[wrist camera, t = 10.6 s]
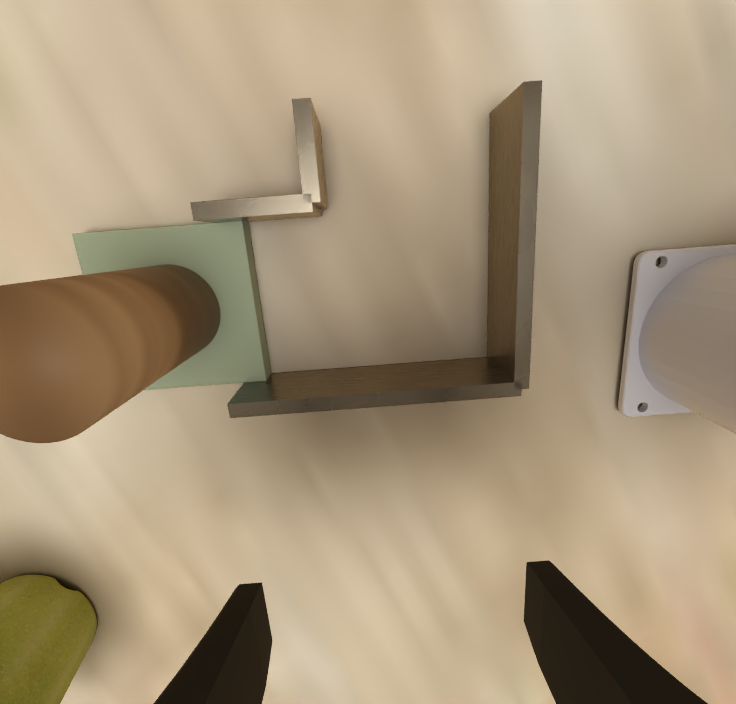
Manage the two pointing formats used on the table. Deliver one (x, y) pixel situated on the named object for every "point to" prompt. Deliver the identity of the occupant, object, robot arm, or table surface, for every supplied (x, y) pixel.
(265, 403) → the walled course
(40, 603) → the plant pot
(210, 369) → the end pad
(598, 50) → the table surface
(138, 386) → the peg
